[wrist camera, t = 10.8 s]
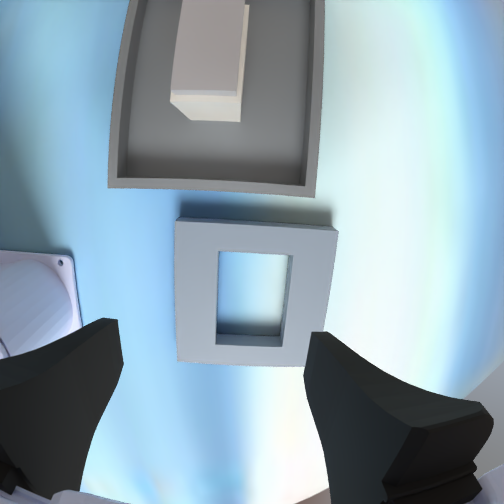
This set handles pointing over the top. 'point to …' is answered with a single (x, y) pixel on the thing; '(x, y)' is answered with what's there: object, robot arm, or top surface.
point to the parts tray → (221, 132)
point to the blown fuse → (210, 59)
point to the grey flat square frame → (206, 289)
